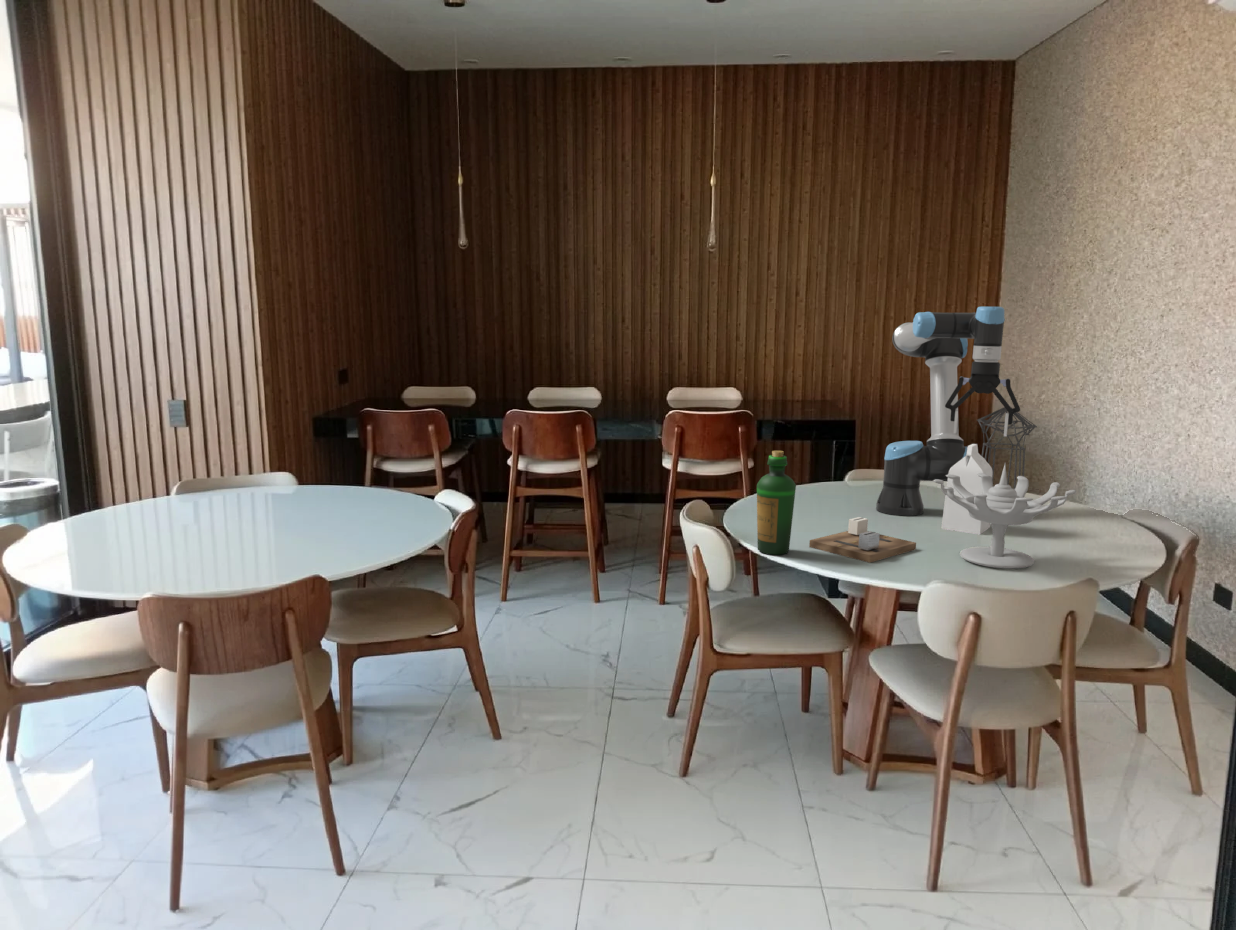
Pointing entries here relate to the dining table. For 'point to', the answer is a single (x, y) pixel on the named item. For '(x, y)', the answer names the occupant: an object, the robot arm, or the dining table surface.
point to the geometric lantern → (1001, 412)
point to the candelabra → (1001, 515)
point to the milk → (967, 471)
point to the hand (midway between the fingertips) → (979, 434)
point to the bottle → (775, 507)
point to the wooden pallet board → (850, 548)
